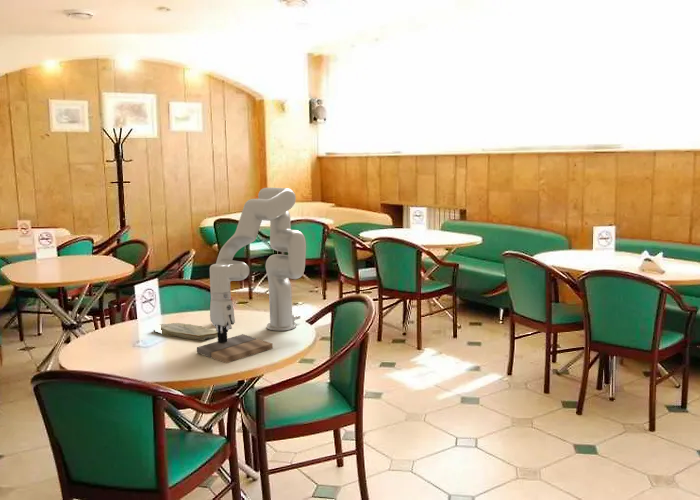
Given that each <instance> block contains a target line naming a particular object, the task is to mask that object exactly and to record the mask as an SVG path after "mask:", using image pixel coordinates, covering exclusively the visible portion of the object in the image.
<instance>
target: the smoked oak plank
mask: <svg viewBox="0 0 700 500" xmlns="http://www.w3.org/2000/svg"><path fill="white" fill-rule="evenodd" d="M256 339H257V338H256V337H252V336H250V335H247V334H243V333H242V334H238V335H235V336H232V337H229V338H228V337H227V342H224V343H220V342H218V340H217V341H214V342H211V343H207V344H203V345H200V346H196V353H198V354H201V355H203V356H205V357H208V358H211V353H212V352H215V351H219V350H222V349H225V348H229V347H232V346H235V345H239V344H242V343H246V342H249V341H252V340H256ZM211 359H212V358H211Z"/></svg>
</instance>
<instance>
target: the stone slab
mask: <svg viewBox="0 0 700 500" xmlns="http://www.w3.org/2000/svg"><path fill="white" fill-rule="evenodd" d="M160 325H161V330H162V334H163V335H162V336H166V337H167V336H170V337H171V336H173V337H174V336H175V337H178V338H182V339H183V338H184V339H188V340H189V339H190V340H194V341H205V340H206V339H207V340H208V339H215V338H218V332H217V331H216V329H215V330H214V329H209V328H206V327H203V326H200V325H195V324H190V323H180V322H176V323H175V322H173V323H161V324H160Z"/></svg>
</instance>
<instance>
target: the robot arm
mask: <svg viewBox="0 0 700 500" xmlns="http://www.w3.org/2000/svg"><path fill="white" fill-rule="evenodd" d="M257 196H258V198H251V199H248V200H247V201H246V202H245V203H244V204H243V209H242V211H241V215H240V218H239V220H238V223H237V226H236V229H235V231H234V233H233V234H232V236H231V237H230V238H229V239H227V241H226V242H225V243H224V244H223V245H222V247H221V248H220V250H219V253H218V255H217V259H216V260H215V261H216V262H215V263H213V264H211V265H210V266H209V286H210V288H209V290H210V303H209V304H210V305H209V317H210V318H209V319H210V323H212V325H213V327H215V330H216V331H217V332H218V337H217V341H218V342H220V343H224V342H227V339H228V331H229V330H232V329H233V327H232V326H233V325H234V324H235V323H236V322H235V310H234V304H233V299H232V300H231V298H232V295H231V292H232V291H231V282H234V281H235V282H237V281H238V282H239V281H240V282H241V281H243V280H245V279H247V278H248V276H249V275H250V267H249V265H248V264H247V263H245V262H244V261H239V260H235V259H234V257H235V255H236V254H237V253H238V251H239V250H240V249H242V248H244V247H245V246H247V245H250V244H252V243H253V242H255V241H256V240H257V237H258V233H259V230H260V227H261V225H262V221H268V222H269V226H270V229H269V245H270V248H271V249H272V250H274V251H277V252H283V253H288V254H280V253H279V254H278V253H277V254H272V255H270V256H269V257H268V258H267V259H266V261H265V270H266V275H267V281H268V298H269V299H268V300H269V323H267V324H266V328H267V329H268V330H270V331H276V332H281V331H283V332H284V331H289V330H290V331H291V330H293V329H295V328H296V327H297V323H296V322H295V321H296V320H299V319H301V315H300V314H296V315H294V314H293V305H292V304H293V301H292V300H293V299H292V297H293V296H292V283H291V281H290V279H293V280H297V279H300V278H302V277H303V275H304V272H305V268H306V256H307V255H306V251H307V247H306V246H307V244H306V243H307V242H306V238H305V235H304V234H303V233H302V232H301V230H300V231H299V230H298V229H291V225H292V224H291V223H292V222H291V214H290V212H289V210H291V209H292V208H293V207H294V205H295V203H296V200H297V199H296V198H297V196H296V193H295V192H294V191H293V190H292V189H291V188H289V187H288V188H287V187H263V188H261V189H260V191H259V192H258V195H257ZM233 259H234V260H233Z"/></svg>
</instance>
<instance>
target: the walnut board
mask: <svg viewBox="0 0 700 500" xmlns="http://www.w3.org/2000/svg"><path fill="white" fill-rule="evenodd" d="M273 347H274V346H273V342H269V341H266V340H263V339H262V340H261V339H259V338H256V340H252V341H249V342H246V343H242V344H239V345H235V346H232V347H229V348H225V349H222V350H219V351H215V352H212V353H211V359H214V360H217V361H220V362H223V363H225V364H228V363H230V362H233V361H234V362H235V361H237V360H241V359H244V358H247V357H250V356H253V355H256V354H259V353H262V352H266V351H269V350H272V349H273Z"/></svg>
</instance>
